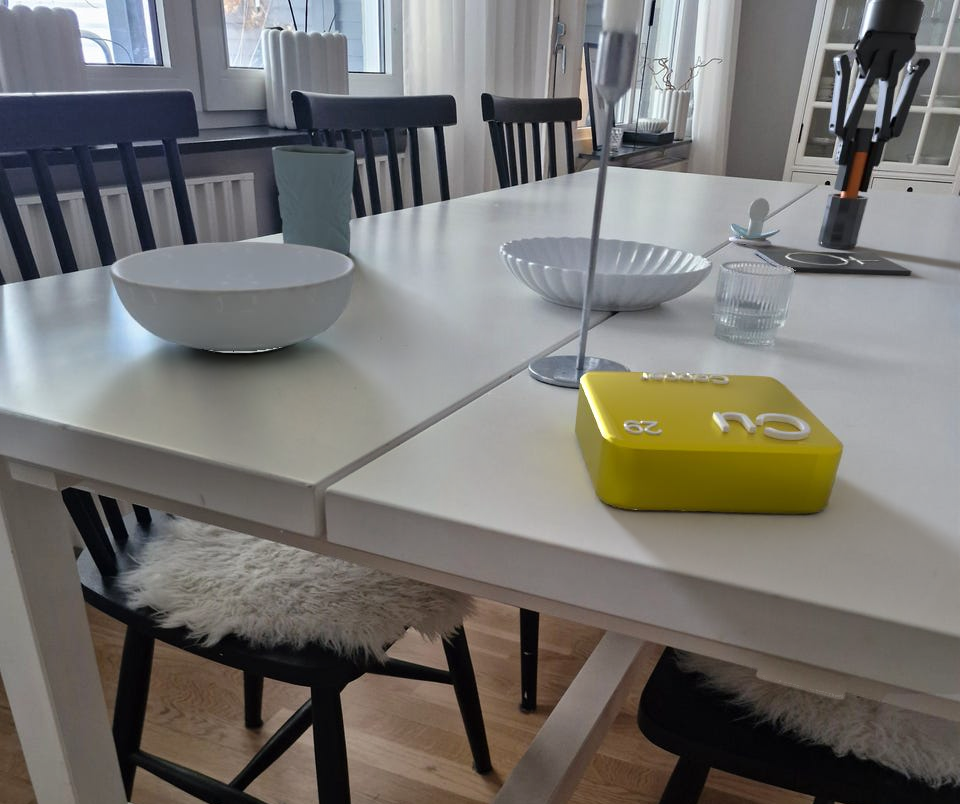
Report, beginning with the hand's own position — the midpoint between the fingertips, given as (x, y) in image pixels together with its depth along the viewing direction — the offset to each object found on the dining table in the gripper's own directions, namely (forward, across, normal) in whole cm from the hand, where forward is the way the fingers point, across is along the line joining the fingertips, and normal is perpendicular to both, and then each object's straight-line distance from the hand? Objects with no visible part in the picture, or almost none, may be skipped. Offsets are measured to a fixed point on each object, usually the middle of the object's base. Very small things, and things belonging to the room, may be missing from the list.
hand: (850, 190), depth 135 cm
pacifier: (+8, +14, +1) cm, 16 cm away
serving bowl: (+8, +81, +61) cm, 102 cm away
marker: (+5, 0, 0) cm, 5 cm away
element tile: (+8, +46, +89) cm, 100 cm away
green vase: (+8, +78, +18) cm, 80 cm away
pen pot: (+8, 0, 0) cm, 8 cm away
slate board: (+8, +7, +15) cm, 18 cm away
